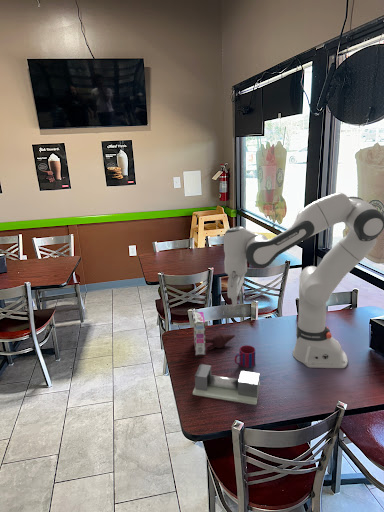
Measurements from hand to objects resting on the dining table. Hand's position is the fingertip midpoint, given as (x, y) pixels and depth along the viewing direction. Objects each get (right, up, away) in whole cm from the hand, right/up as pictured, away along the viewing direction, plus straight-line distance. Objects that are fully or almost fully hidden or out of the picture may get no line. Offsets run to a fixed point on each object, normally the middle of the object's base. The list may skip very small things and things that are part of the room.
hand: (236, 299), depth 145 cm
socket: (-14, -32, -5) cm, 36 cm away
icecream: (-5, -25, +22) cm, 34 cm away
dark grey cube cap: (+3, -33, -10) cm, 35 cm away
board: (-5, -34, -8) cm, 35 cm away
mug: (+4, -29, +8) cm, 30 cm away
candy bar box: (-14, -26, +21) cm, 36 cm away
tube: (-7, -33, -7) cm, 34 cm away
